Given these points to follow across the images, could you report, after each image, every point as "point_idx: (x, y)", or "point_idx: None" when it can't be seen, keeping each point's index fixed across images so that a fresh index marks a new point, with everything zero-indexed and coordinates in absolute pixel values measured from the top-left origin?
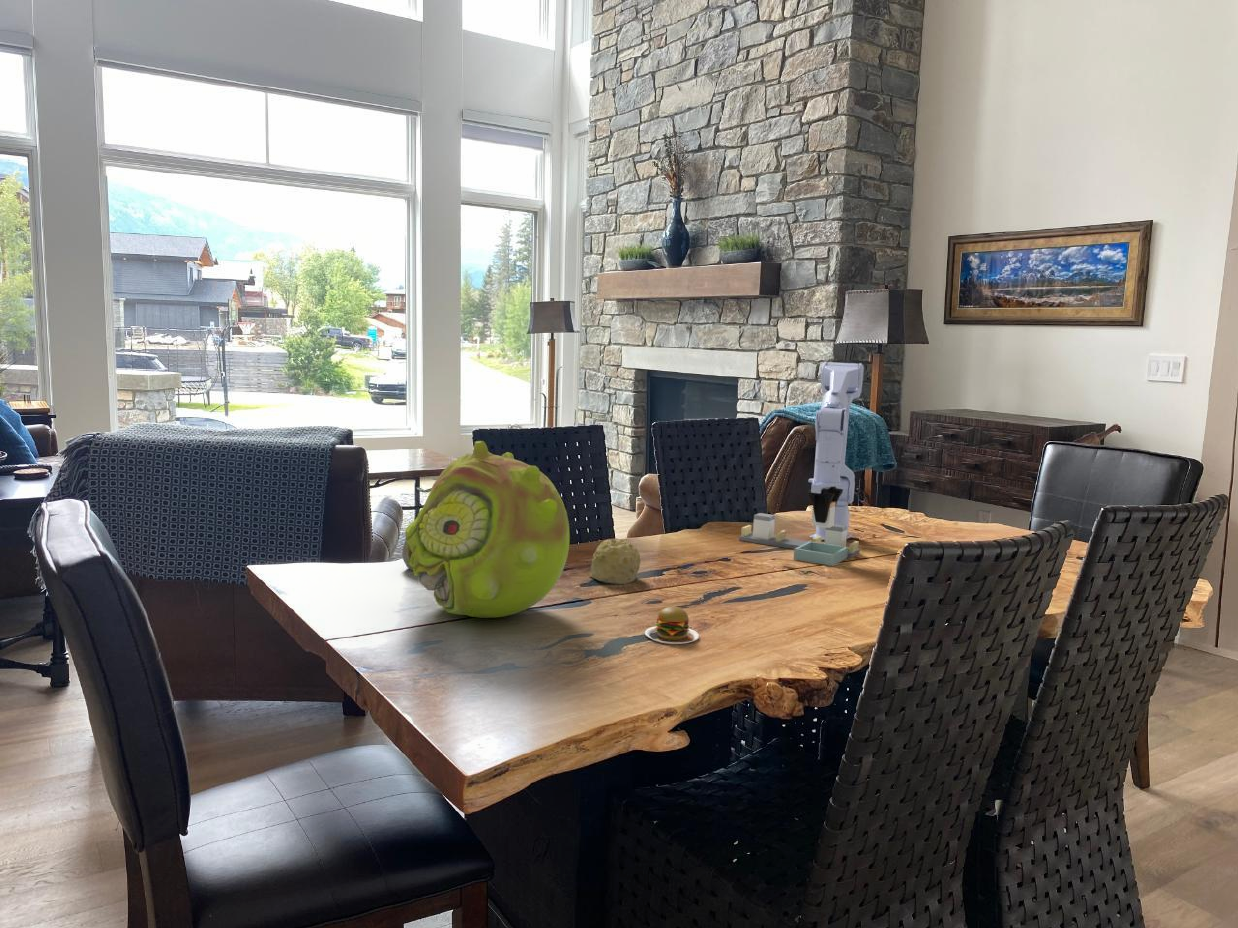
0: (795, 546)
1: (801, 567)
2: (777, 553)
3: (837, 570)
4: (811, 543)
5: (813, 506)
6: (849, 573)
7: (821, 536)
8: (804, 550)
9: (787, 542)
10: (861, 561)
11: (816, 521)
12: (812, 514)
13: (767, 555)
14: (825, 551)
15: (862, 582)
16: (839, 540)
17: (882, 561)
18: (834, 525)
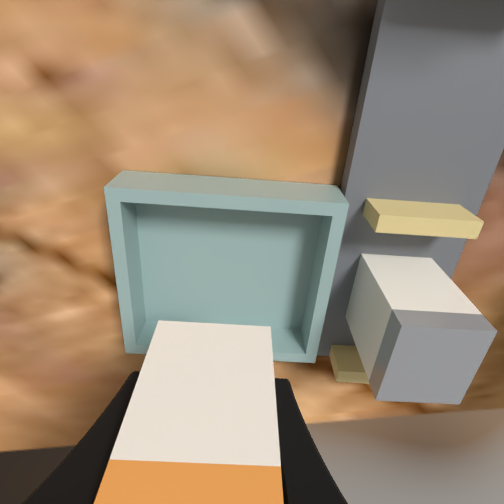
0: (359, 112)
1: (16, 236)
2: (196, 49)
3: (89, 343)
4: (330, 214)
5: (48, 478)
6: (82, 376)
7: (471, 237)
8: (111, 238)
9: (417, 43)
10: (281, 373)
11: (128, 378)
12: (137, 384)
13: (105, 11)
14: (312, 266)
15: (9, 417)
16: (359, 339)
17: (321, 414)
18: (421, 360)
